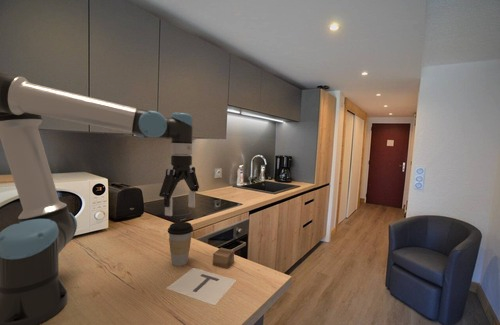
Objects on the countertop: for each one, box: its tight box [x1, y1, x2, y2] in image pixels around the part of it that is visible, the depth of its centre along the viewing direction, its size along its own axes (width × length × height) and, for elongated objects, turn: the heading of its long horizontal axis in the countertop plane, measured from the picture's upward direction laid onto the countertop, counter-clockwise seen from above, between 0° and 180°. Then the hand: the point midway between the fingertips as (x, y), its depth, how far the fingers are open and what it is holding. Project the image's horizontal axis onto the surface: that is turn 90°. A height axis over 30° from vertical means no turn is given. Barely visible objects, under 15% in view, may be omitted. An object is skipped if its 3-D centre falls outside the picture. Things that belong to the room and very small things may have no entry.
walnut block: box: [212, 247, 235, 270], centre depth 90 cm, size 6×6×5 cm
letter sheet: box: [165, 267, 237, 306], centre depth 76 cm, size 14×18×1 cm
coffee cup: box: [167, 221, 194, 267], centre depth 89 cm, size 9×9×15 cm
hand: (180, 211), depth 88 cm, fingers open, 12 cm apart
